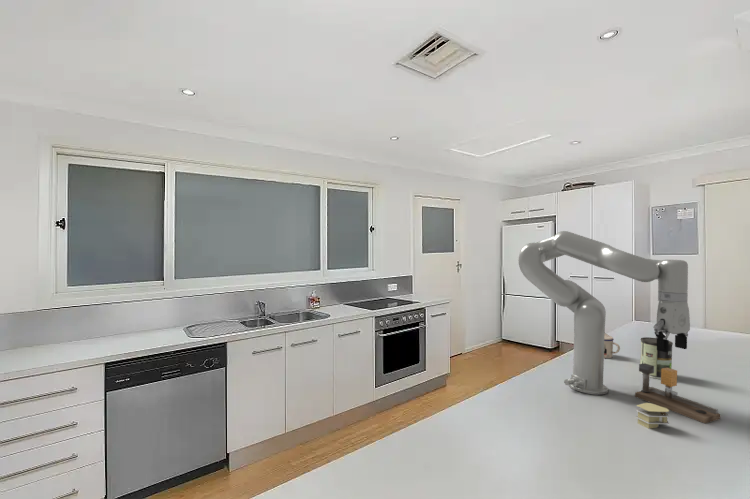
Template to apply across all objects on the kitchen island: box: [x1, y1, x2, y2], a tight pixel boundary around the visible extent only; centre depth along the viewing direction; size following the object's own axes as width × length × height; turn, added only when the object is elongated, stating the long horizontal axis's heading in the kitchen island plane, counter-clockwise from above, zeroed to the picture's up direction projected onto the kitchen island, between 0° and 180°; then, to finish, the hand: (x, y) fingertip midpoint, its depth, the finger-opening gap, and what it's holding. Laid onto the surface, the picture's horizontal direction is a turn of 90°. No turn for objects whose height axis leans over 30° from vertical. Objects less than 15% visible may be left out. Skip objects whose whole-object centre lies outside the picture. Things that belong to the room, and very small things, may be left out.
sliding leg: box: [660, 368, 679, 399], centre depth 122 cm, size 5×3×10 cm, turn 113°
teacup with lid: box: [604, 332, 621, 359], centre depth 173 cm, size 12×9×12 cm
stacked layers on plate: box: [635, 402, 670, 429], centre depth 107 cm, size 10×9×6 cm
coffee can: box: [639, 336, 674, 380], centre depth 149 cm, size 10×10×14 cm
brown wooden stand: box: [634, 363, 721, 424], centre depth 120 cm, size 8×20×11 cm, turn 23°
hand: (671, 349), depth 121 cm, fingers open, 9 cm apart
